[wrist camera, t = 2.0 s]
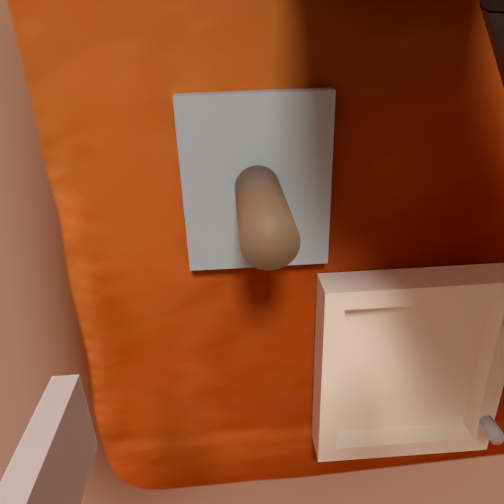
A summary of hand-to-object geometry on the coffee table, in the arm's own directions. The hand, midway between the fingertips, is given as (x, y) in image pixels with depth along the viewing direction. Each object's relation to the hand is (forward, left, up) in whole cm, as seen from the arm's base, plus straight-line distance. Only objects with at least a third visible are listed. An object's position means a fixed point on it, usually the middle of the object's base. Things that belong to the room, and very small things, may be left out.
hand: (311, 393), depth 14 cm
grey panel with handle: (0, 0, -21) cm, 21 cm away
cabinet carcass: (+16, +12, -21) cm, 29 cm away
